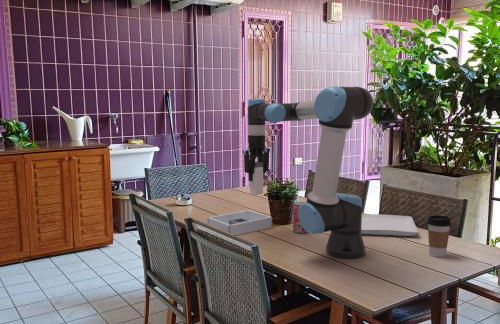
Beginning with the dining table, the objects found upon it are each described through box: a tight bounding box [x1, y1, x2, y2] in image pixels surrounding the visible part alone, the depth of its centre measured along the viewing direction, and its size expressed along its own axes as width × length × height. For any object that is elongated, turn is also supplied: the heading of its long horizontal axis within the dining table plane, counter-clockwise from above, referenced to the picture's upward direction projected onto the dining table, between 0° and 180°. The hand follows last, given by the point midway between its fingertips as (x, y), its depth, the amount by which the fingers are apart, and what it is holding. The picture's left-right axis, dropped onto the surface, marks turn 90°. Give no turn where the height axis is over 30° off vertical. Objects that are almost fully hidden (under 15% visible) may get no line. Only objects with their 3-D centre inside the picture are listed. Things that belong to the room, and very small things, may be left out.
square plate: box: [361, 213, 419, 237], centre depth 223 cm, size 27×27×4 cm
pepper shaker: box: [249, 160, 264, 196], centre depth 212 cm, size 4×4×14 cm
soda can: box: [292, 201, 308, 234], centre depth 218 cm, size 7×7×13 cm
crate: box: [206, 209, 273, 236], centre depth 226 cm, size 18×24×5 cm
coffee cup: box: [427, 215, 452, 258], centre depth 186 cm, size 8×8×15 cm
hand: (256, 187), depth 213 cm, fingers closed on pepper shaker, 4 cm apart
